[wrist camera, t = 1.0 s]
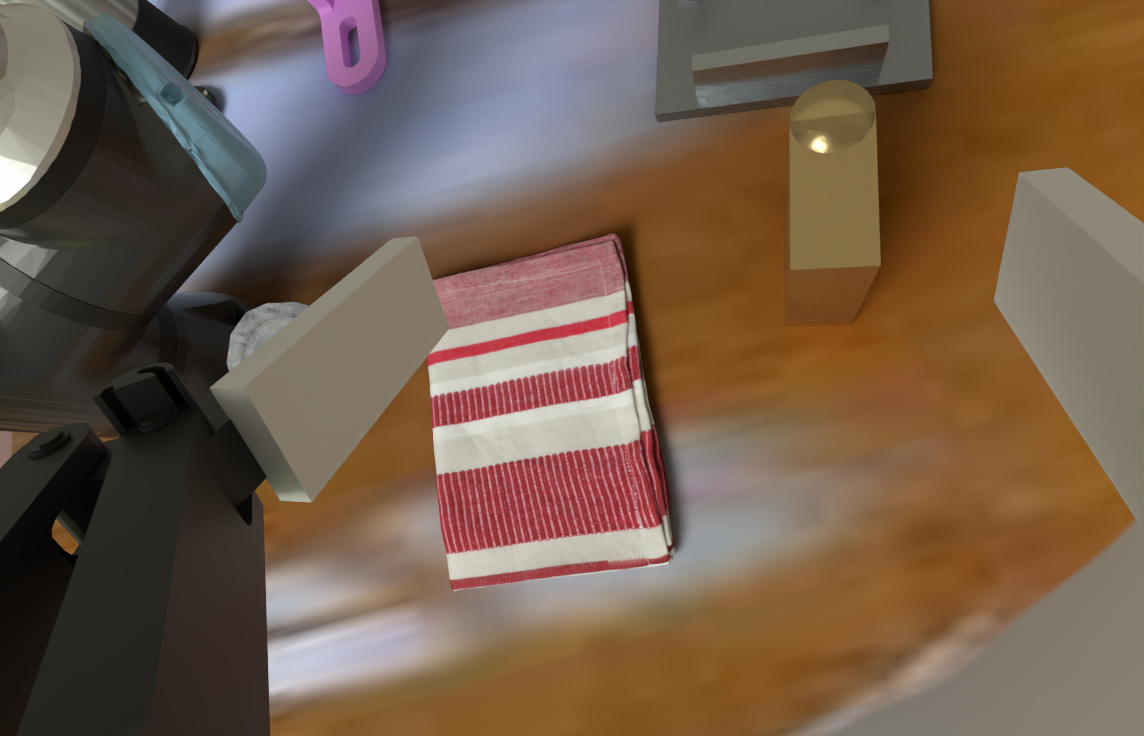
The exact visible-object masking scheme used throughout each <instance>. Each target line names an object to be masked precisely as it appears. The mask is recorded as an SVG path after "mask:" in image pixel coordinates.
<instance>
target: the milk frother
mask: <svg viewBox="0 0 1144 736" xmlns="http://www.w3.org/2000/svg"><path fill="white" fill-rule="evenodd" d="M12 3H28V4H33V5H37V6H39V7H41V8H43V9H45V10H47V11H49V12H51V13H52V14H54V15H56V16H57V17H59V18H60V19H62V20H63V21H65V22H66V23H68V24H69V25H71V26H72V27H74V28H76V29H77V30H79V31H81V32H82V30H83V23H84V21H85V20H86V22H87V20H89V19H93V18H95V17H96V16H97V15H100V14H107V15H110V16H112V17H114V18H115V19H116V20H117V21H118V22H120V23H122V24H123V25H125V26H126V27H128V28H129V29H130V30H131V31H133V32H134V33H135V34H136V35H138V36H139V37H140V38H141V39H142V40H143V41H145V42H146V43H147V44H148V45H149V46H150V47H151V48H153V49H154V50H155V51H156V52H157V53H158V54H159V55H160V56H161V57H163V58H164V59H165V60H166V61H167V62H168V63H169V64H170V65H171V66H173V67H174V68H175V69H176V70H177V71H178V72H179V73H180V74H181V75H182V76H183V77H184V78H185V79H187V77H188V76H189V74H190V72H191V70H192V68H193V65H194V62H195V57H196V51H197V46H196V40H195V37H194V35H193V33H192V32H191V31H190V30H189V29H188V28H186V27H185V26H183V25H179V24H178V23H176V22H175V21H174V20H172V19H171V18H170V17H168V16H167V15H166V14H164V13H163V12H162V11H160V10H159V9H158V8H156V7H155V6H154V5H152V4H151V3H150V2H149V1H147V0H0V5H4V4H12ZM194 87H195V88H196V89H197V90H198V91H199V92H200V93H201V94H202V95H203V96H204V97H206V98H207V99H208V100H209V101H210V102H211V103H212V104H213V105H214V106H216V103H215V98H214V96H213V95H212V94H211V93H210V92H209V91H208V90H206V89H205V88H202V87H198V86H194Z"/></svg>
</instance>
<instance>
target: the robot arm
mask: <svg viewBox="0 0 1144 736" xmlns="http://www.w3.org/2000/svg"><path fill="white" fill-rule="evenodd" d="M265 181H266V166H265V163H264V161H263V159H262V157H261V155H260V154H259V153H258V151H257V150H256V149H255V148H254V147H253V145H252V144H251V143H250V142H249V141H248V140H247V139H246V138H245V137H244V135H243V134H242V133H241V132H240V131H239V130H238V129H237V128H236V127H235V126H234V125H233V124H232V123H231V122H230V121H229V120H228V119H227V118H226V117H225V116H224V115H223V114H222V113H221V112H220V111H219V110H218V109H217V108H216V107H215V106H214V105H213V104H212V103H211V102H210V101H209V100H208V99H207V98H206V97H204V96H203V95H202V94H201V93H200V92H199V91H198V90H197V89H196V88H195V87H194V86H193V85H192V84H191V83H190V82H189V81H188V80H186V79H185V78H184V77H183V76H182V75H181V74H180V73H179V72H178V71H177V70H176V69H175V68H174V67H173V66H171V65H170V64H169V63H168V62H167V61H166V60H165V59H164V58H163V57H161V56H160V55H159V54H158V53H157V52H156V51H155V50H154V49H153V48H151V47H150V46H149V45H148V44H147V43H146V42H145V41H143V40H142V39H141V38H140V37H139V36H138V35H136V34H135V33H134V32H133V31H131V30H130V29H129V28H128V27H126V26H125V25H123V24H122V23H120V22H118V21H117V20H116V19H115V18H114V17H112V16H110V15H107V14H100V15H97V16H96V17H95V18H93V19H89V20H87V22H86V20H85V21H84V23H83V30H82V32H81V31H79V30H77V29H76V28H74V27H72V26H71V25H69V24H68V23H66V22H65V21H63V20H62V19H60V18H59V17H57V16H56V15H54V14H52V13H51V12H49V11H47V10H45V9H43V8H41V7H39V6H37V5H33V4H28V3H12V4H4V5H0V431H10V432H26V433H41V434H39V435H37V436H35V437H34V438H33V439H32V440H31V441H30V442H29V443H28V444H26V445H24V446H23V447H22V448H21V449H19V450H18V451H17V452H16V453H15V454H14V455H13V456H12V457H11V458H10V459H9V460H8V461H7V462H6V463H5V464H4V465H3V466H2V467H1V468H0V736H270V716H269V683H268V650H267V618H266V585H265V552H264V520H263V505H262V502H261V500H260V499H259V497H258V496H257V494H256V492H255V490H256V488H257V487H258V486H259V485H260V484H261V483H262V482H263V481H264V480H265V479H267V481H268V482H269V484H270V485H271V487H272V489H273V490H274V492H275V493H276V495H277V496H278V498H279V500H280V501H296V502H312V501H313V500H314V499H315V498H316V496H317V495H318V494H319V492H320V491H321V490H322V489H323V487H324V486H325V485H326V484H327V482H328V481H329V480H330V479H331V477H332V476H333V475H334V474H335V472H336V471H337V470H338V468H339V467H340V466H341V465H342V463H343V462H344V461H345V460H346V458H347V457H348V456H349V455H350V453H351V452H352V451H353V450H354V448H355V447H356V446H357V444H358V443H359V442H360V441H361V439H362V438H363V437H364V436H365V434H366V433H367V432H368V431H369V429H370V428H371V427H372V426H373V424H374V423H375V422H376V421H377V419H378V418H379V417H380V415H381V414H382V413H383V412H384V410H385V409H386V408H387V407H388V405H389V404H390V403H391V402H392V400H393V399H394V398H395V397H396V395H397V394H398V393H399V391H400V390H401V389H402V388H403V386H404V385H405V384H406V383H407V381H408V380H409V379H410V378H411V376H412V375H413V374H414V373H415V371H416V370H417V369H418V367H419V366H420V365H421V364H422V362H423V361H424V360H425V359H426V357H427V356H428V355H429V354H430V352H431V351H432V350H433V349H434V347H435V346H436V345H437V344H438V342H439V341H440V340H441V338H442V337H443V336H444V335H445V333H446V332H447V331H448V330H449V326H448V323H447V320H446V317H445V314H444V311H443V309H442V306H441V303H440V300H439V297H438V294H437V291H436V288H435V286H434V283H433V280H432V277H431V274H430V271H429V268H428V265H427V263H426V260H425V257H424V254H423V251H422V248H421V245H420V243H419V240H418V237H417V236H413V237H404V238H394V239H391V240H390V241H388V242H387V243H386V244H385V245H384V246H382V247H381V248H380V249H379V250H377V251H376V252H375V253H374V254H373V255H371V256H370V257H369V258H368V259H366V260H365V261H364V262H363V263H362V264H360V265H359V266H358V267H357V268H355V269H354V270H353V271H352V272H351V273H349V274H348V275H347V276H346V277H344V278H343V279H342V280H341V281H340V282H338V283H337V284H336V285H335V286H333V287H332V288H331V289H330V290H329V291H327V292H326V293H325V294H324V295H322V296H321V297H320V298H319V299H318V300H316V301H315V302H314V303H313V304H311V305H310V306H309V307H308V308H307V309H305V310H304V311H303V312H302V313H300V314H299V315H298V316H297V317H296V318H294V319H293V320H292V321H291V322H289V323H288V324H287V325H286V326H285V327H283V328H282V329H281V330H280V331H278V332H277V333H276V334H275V335H274V336H272V337H271V338H270V339H269V340H267V341H266V342H265V343H264V344H263V345H261V346H260V347H259V348H258V349H256V350H255V351H254V352H253V353H252V354H250V355H249V356H248V357H247V358H245V359H244V360H243V361H242V362H241V363H239V364H238V365H237V366H236V367H234V368H233V369H232V370H231V371H230V372H229V369H228V365H227V357H228V351H229V343H230V335H231V333H232V332H233V330H234V329H235V327H236V326H237V324H238V323H239V322H240V320H241V319H242V317H243V316H244V315H245V313H246V312H247V311H250V310H252V309H254V308H257V307H258V306H256V305H254V304H253V303H250V302H248V301H245V300H243V299H240V298H237V297H234V296H231V295H228V294H224V293H218V292H176V291H177V290H178V289H179V288H180V287H181V286H182V285H183V283H184V282H185V281H186V280H187V279H188V278H189V277H190V275H191V274H192V273H193V272H194V271H195V270H196V269H197V267H198V266H199V265H200V264H201V263H202V262H203V261H204V260H205V258H206V257H207V256H208V255H209V254H210V253H211V252H212V250H213V249H214V248H215V247H216V246H217V245H218V244H219V242H220V241H221V240H222V239H223V238H224V237H225V236H226V234H227V233H228V232H229V231H230V230H231V229H232V228H233V227H234V225H235V224H236V223H237V222H238V223H240V222H241V221H242V218H243V212H244V211H245V210H246V208H247V207H248V206H249V205H250V203H251V202H252V201H253V199H254V198H255V197H256V195H257V194H258V193H259V192H260V190H261V189H262V188H263V186H264V183H265ZM994 302H995V304H996V305H997V307H998V308H999V310H1000V311H1001V313H1002V314H1003V316H1004V318H1005V319H1006V321H1007V322H1008V324H1009V325H1010V327H1011V328H1012V330H1013V331H1014V333H1015V334H1016V336H1017V337H1018V339H1019V341H1020V342H1021V344H1022V345H1023V347H1024V348H1025V350H1026V351H1027V353H1028V354H1029V356H1030V357H1031V359H1032V360H1033V362H1034V364H1035V365H1036V367H1037V368H1038V370H1039V371H1040V373H1041V374H1042V376H1043V377H1044V379H1045V380H1046V382H1047V383H1048V385H1049V387H1050V388H1051V390H1052V391H1053V393H1054V394H1055V396H1056V397H1057V399H1058V400H1059V402H1060V403H1061V405H1062V406H1063V408H1064V410H1065V411H1066V413H1067V414H1068V416H1069V417H1070V419H1071V420H1072V422H1073V423H1074V425H1075V426H1076V428H1077V429H1078V431H1079V433H1080V434H1081V436H1082V437H1083V439H1084V440H1085V442H1086V443H1087V445H1088V446H1089V448H1090V449H1091V451H1092V452H1093V454H1094V455H1095V457H1096V459H1097V460H1098V462H1099V463H1100V465H1101V466H1102V468H1103V469H1104V471H1105V472H1106V474H1107V475H1108V477H1109V478H1110V480H1111V482H1112V483H1113V485H1114V486H1115V488H1116V489H1117V491H1118V492H1119V494H1120V495H1121V497H1122V498H1123V500H1124V501H1125V503H1126V505H1127V506H1128V508H1129V509H1130V511H1131V512H1132V514H1133V515H1134V517H1135V518H1136V520H1137V521H1138V523H1139V524H1140V526H1141V527H1142V529H1143V530H1144V223H1143V222H1141V221H1140V220H1138V219H1137V218H1136V217H1134V216H1133V215H1132V214H1130V213H1129V212H1128V211H1126V210H1125V209H1124V208H1122V207H1121V206H1119V205H1118V204H1117V203H1115V202H1114V201H1113V200H1111V199H1110V198H1109V197H1107V196H1106V195H1104V194H1103V193H1102V192H1100V191H1099V190H1098V189H1096V188H1095V187H1094V186H1092V185H1091V184H1090V183H1088V182H1087V181H1085V180H1084V179H1083V178H1081V177H1080V176H1079V175H1077V174H1076V173H1075V172H1073V171H1072V170H1071V169H1069V168H1068V167H1066V168H1056V169H1047V170H1038V171H1028V172H1019V175H1018V180H1017V185H1016V190H1015V195H1014V201H1013V206H1012V211H1011V216H1010V221H1009V226H1008V231H1007V236H1006V241H1005V246H1004V251H1003V256H1002V261H1001V266H1000V271H999V277H998V282H997V287H996V292H995V297H994ZM99 437H105V438H113V439H115V440H111V441H106V442H102V441H101V440H100V438H99ZM55 519H57V520H58V521H59V523H60V524H61V525H62V526H63V527H64V528H65V529H66V530H67V531H68V532H69V533H70V534H71V536H72V537H73V538H74V539H75V540H76V541H77V542H78V543H79V546H78V547H77V549H76V550H75V552H74V553H73V554H72V555H71V554H69V553H67V552H66V551H64V550H63V548H62V547H61V546H60V545H59V544H58V543H57V542H56V541H55V540H54V539H53V538H52V530H51V529H52V527H53V524H54V522H55Z"/></svg>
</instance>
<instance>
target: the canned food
mask: <svg viewBox="0 0 1144 736" xmlns="http://www.w3.org/2000/svg"><path fill="white" fill-rule="evenodd" d="M308 307H309V305H305V304H302V303H298V302H284V303H266V304H264V305H262V306H259V307H257V308H254V309H252V310H250V311H247V312H246V313H245V315H244V316H243V317H242V319H241V320H240V322H239V323H238V324H237V326H236V327H235V329H234V330H233V332H232V333H231V335H230V343H229V351H228V357H227V365H228V369H229V372H230V371H231V370H232V369H233V368H234V367H236V366H237V365H238V364H239V363H241V362H242V361H243V360H244V359H245V358H247V357H248V356H249V355H250V354H252V353H253V352H254V351H255V350H256V349H258V348H259V347H260V346H261V345H263V344H264V343H265V342H266V341H267V340H269V339H270V338H271V337H272V336H274V335H275V334H276V333H277V332H278V331H280V330H281V329H282V328H283V327H285V326H286V325H287V324H288V323H289V322H291V321H292V320H293V319H294V318H296V317H297V316H298V315H299V314H300V313H302V312H303V311H304V310H305V309H307V308H308Z"/></svg>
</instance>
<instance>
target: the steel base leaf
mask: <svg viewBox="0 0 1144 736" xmlns="http://www.w3.org/2000/svg"><path fill="white" fill-rule="evenodd" d="M932 79H933V71H932V51H931V32H930V12H929V0H660V8H659V34H658V60H657V87H656V113H655V115H656V118H657V121H658V122H663V121H671V120H679V119H687V118H694V117H702V116H710V115H718V114H726V113H734V112H742V111H750V110H758V109H766V108H774V107H782V106H789V105H794V104H795V102H796V101H797V99H798V98H799V97H800V96H801V95H802V94H803V93H804V92H805V91H806V90H808V89H809V88H811V87H813V86H815V85H817V84H819V83H822V82H825V81H831V80H845V81H850V82H853V83H856V84H858V85H860V86H862V87H863V88H864V89H865V90H867V92H868V93H869V94H870V95H876V94H884V93H892V92H900V91H908V90H916V89H924V88H929V87H930V84H931V82H932Z"/></svg>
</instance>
